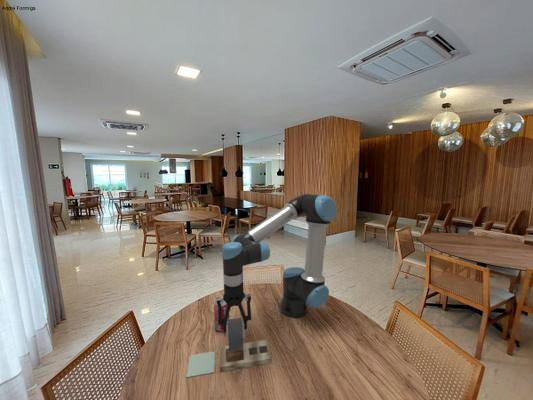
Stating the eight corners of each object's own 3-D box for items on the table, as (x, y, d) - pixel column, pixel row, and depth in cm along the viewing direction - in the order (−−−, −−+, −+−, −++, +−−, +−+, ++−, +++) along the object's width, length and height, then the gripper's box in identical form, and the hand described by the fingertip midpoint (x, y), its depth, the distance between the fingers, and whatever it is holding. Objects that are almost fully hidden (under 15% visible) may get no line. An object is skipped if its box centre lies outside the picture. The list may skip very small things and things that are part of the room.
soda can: (226, 333, 102) (225, 307, 101) (212, 331, 104) (211, 305, 102) (231, 323, 109) (231, 299, 108) (218, 321, 110) (217, 297, 109)
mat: (215, 352, 91) (214, 351, 91) (214, 373, 81) (214, 372, 81) (190, 356, 89) (190, 355, 89) (186, 378, 79) (186, 377, 79)
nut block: (241, 337, 91) (241, 317, 90) (243, 347, 85) (242, 326, 84) (228, 340, 90) (227, 319, 89) (229, 350, 84) (228, 328, 83)
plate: (266, 344, 95) (266, 339, 95) (271, 362, 86) (271, 358, 85) (219, 351, 91) (219, 346, 91) (219, 372, 82) (219, 367, 81)
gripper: (255, 275, 90) (256, 327, 93) (209, 280, 86) (212, 334, 89) (258, 284, 83) (259, 340, 85) (208, 290, 79) (211, 348, 82)
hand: (235, 337), depth 87 cm, fingers closed on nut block, 5 cm apart
